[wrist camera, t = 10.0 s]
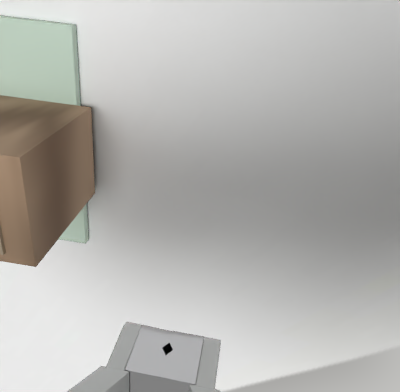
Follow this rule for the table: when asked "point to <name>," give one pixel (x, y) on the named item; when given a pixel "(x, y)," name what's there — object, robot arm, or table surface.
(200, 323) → the table surface
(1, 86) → the green glass pane
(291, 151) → the table surface
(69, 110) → the walnut block
